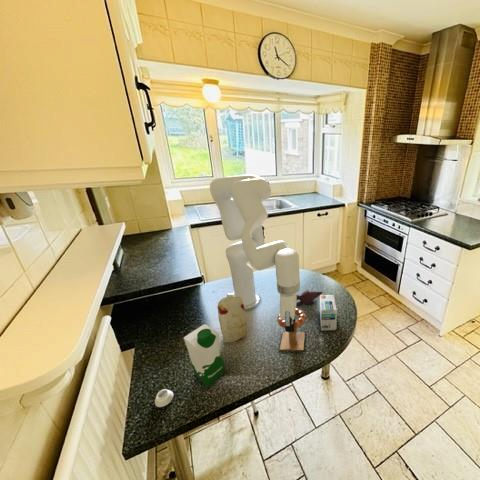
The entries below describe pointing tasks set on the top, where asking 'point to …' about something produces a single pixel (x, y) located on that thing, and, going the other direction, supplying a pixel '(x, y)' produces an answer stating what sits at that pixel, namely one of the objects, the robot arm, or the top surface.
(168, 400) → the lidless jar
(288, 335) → the stand
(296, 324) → the ring
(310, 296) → the dinosaur toy
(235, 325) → the food model
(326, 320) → the light bulb box
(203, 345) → the milk carton
